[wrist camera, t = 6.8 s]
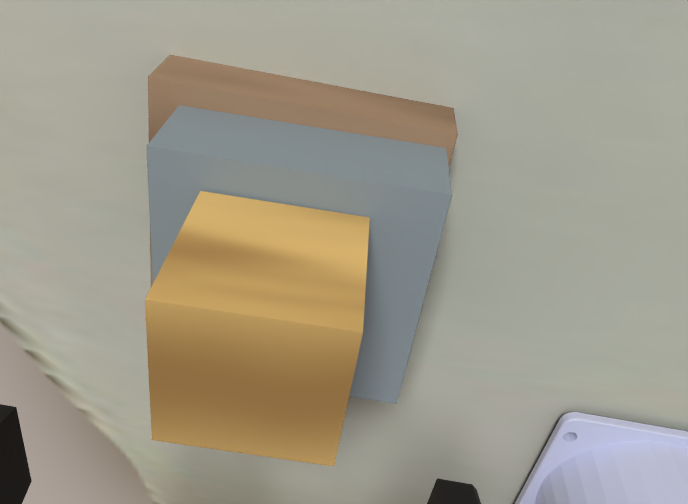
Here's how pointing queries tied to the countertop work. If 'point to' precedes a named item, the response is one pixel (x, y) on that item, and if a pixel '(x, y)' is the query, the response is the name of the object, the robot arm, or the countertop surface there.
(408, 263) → the tower top
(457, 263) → the countertop surface
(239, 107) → the tower base
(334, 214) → the ochre cube
